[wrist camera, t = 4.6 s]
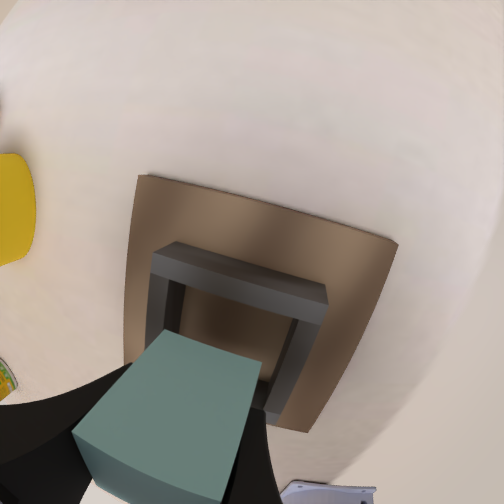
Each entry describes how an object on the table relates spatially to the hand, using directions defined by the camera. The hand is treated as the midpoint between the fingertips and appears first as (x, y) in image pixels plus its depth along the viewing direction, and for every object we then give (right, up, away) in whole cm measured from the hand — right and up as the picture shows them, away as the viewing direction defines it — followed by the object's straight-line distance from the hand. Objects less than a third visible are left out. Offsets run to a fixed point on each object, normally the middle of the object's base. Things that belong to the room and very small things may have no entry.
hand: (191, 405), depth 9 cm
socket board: (+1, +2, +7) cm, 7 cm away
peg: (0, 0, +2) cm, 2 cm away
